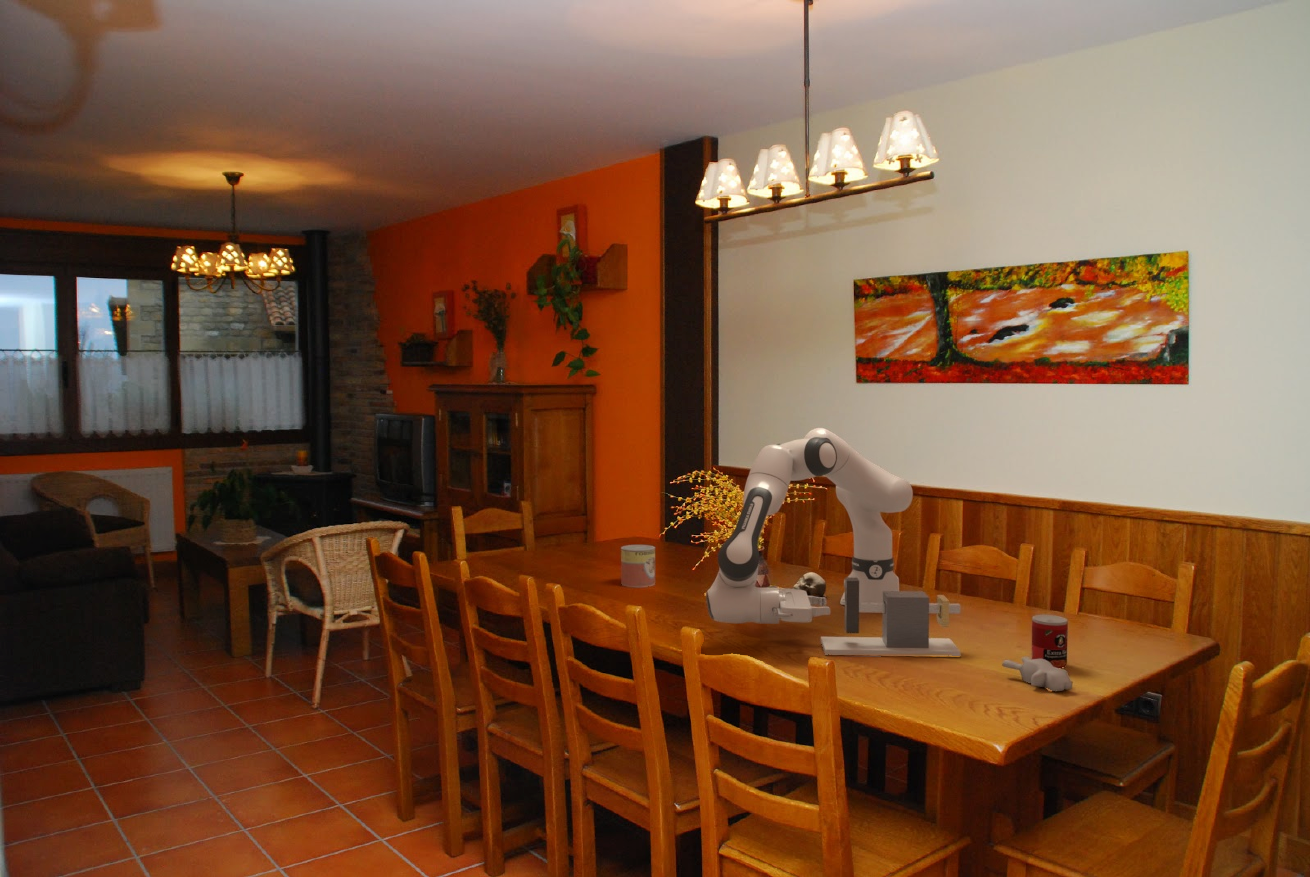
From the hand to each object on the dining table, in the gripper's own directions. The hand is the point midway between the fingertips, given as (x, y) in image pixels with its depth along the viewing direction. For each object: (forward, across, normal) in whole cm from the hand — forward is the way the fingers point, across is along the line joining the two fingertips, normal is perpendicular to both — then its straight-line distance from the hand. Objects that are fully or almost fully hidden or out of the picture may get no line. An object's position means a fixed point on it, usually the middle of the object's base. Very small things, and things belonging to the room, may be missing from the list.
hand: (828, 605), depth 244 cm
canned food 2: (+50, -11, +11) cm, 52 cm away
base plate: (+15, 0, +11) cm, 18 cm away
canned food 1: (-54, +76, +11) cm, 94 cm away
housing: (+19, 0, +11) cm, 22 cm away
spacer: (+28, 0, +4) cm, 28 cm away
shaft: (+18, 0, +6) cm, 19 cm away
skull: (0, +58, +11) cm, 60 cm away
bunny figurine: (+43, -26, +11) cm, 51 cm away
